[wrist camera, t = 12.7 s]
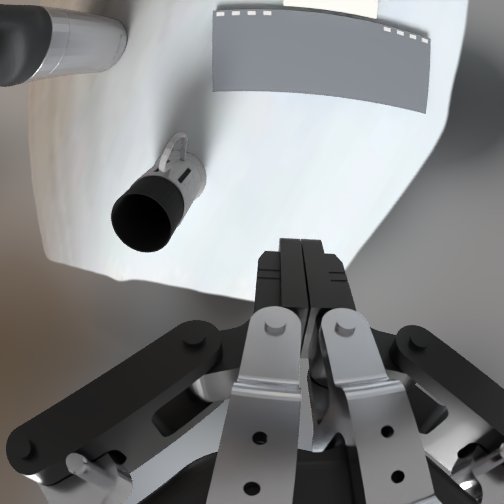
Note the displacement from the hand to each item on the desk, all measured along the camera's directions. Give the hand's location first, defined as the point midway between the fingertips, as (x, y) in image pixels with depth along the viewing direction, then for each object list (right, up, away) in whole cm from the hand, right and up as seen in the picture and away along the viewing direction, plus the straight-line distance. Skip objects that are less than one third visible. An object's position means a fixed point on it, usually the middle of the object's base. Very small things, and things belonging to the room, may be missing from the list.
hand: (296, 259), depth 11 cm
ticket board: (+8, +27, +20) cm, 34 cm away
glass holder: (-12, +14, +31) cm, 35 cm away
